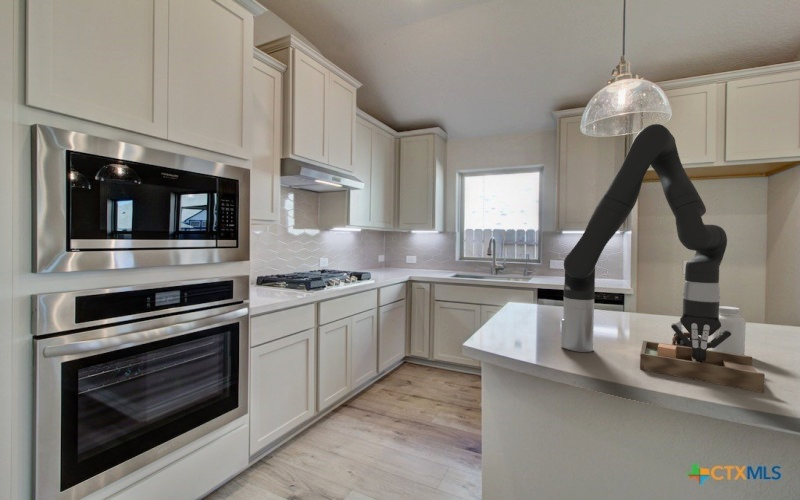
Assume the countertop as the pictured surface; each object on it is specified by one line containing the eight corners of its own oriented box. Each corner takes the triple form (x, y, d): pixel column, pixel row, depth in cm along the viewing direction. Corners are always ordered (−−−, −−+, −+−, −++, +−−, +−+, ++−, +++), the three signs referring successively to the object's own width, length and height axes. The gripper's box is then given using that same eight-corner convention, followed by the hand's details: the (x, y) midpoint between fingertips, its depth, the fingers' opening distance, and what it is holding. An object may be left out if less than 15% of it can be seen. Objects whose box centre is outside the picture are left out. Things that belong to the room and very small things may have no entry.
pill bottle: (704, 349, 119) (706, 305, 118) (726, 349, 119) (728, 305, 119) (728, 357, 111) (730, 310, 110) (751, 357, 111) (753, 309, 111)
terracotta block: (657, 360, 101) (657, 346, 101) (658, 356, 104) (659, 343, 104) (674, 363, 99) (675, 349, 98) (676, 359, 101) (676, 346, 101)
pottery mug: (719, 362, 108) (713, 341, 106) (688, 373, 110) (681, 353, 108) (689, 340, 120) (683, 321, 118) (661, 351, 121) (655, 332, 119)
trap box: (639, 369, 101) (640, 353, 101) (642, 354, 114) (643, 340, 114) (763, 392, 86) (764, 374, 86) (751, 372, 99) (751, 356, 99)
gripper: (732, 298, 95) (729, 362, 95) (670, 294, 103) (668, 352, 103) (736, 303, 89) (733, 371, 89) (670, 297, 97) (668, 359, 97)
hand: (698, 361), depth 96 cm, fingers closed
